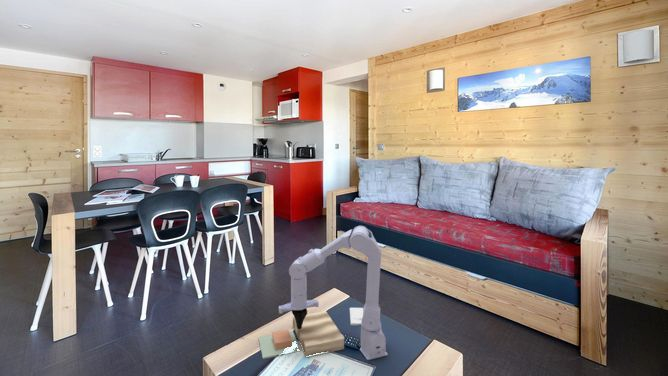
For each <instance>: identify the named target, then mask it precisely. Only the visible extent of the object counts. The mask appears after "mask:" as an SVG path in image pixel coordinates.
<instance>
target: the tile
mask: <svg viewBox="0 0 668 376" xmlns="http://www.w3.org/2000/svg"><path fill="white" fill-rule="evenodd" d="M289 331H290V330H289V329H283V330H277V331H274V332H273V331H272V333H271V335H272V339H273V343H274V346H275V350H279V349H283V348H287V347H291V346H292V338H291V335H290V333H289Z"/></svg>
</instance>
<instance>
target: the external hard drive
mask: <svg viewBox="0 0 668 376" xmlns="http://www.w3.org/2000/svg"><path fill="white" fill-rule="evenodd" d="M362 318H363V307H349V319H350V326H352V327H353V326H355V327H356V326H358V327H359V326H361V322H362Z"/></svg>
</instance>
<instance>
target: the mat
mask: <svg viewBox="0 0 668 376" xmlns="http://www.w3.org/2000/svg"><path fill="white" fill-rule="evenodd" d="M289 333H290V335H291V338H292V342H294V341H296V342H297V343H298V341H297V340H298V339H297V338H296V334H295V333H294V331H293V330H289ZM258 342H259V349H260V352H261V358H262V360H267V359H271V358H272V359H273V358H275V357H276V358H277V357H278V356H277V355H279V354H281V353H283V351H284V349H285V348H283V349H279V350H275V346H274V343H273V339H272V334H269V335H264V336H259V337H258ZM297 343H296V344H297ZM298 347H299V348H297V347H296V348H295V350H294V349H293V350H294V351H297V349H299V350H300V351H301V348H300V347H301V346H298Z"/></svg>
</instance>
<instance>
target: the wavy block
mask: <svg viewBox="0 0 668 376" xmlns="http://www.w3.org/2000/svg"><path fill="white" fill-rule="evenodd" d="M292 327H293V330H294V332H295V336H296V337H297V340H298V342H299V341H300V342H299V344H300V343H301V344H300V346H301V345H302V347H301V349H302V348H303V349H302V351H303V350H304V351H303V353H304V352H305V354H304V356H305V355H306V356H309V355H313V354H316V353H321V352H327V351H331V352H330V353H332V352H336V351H337V352H338V351H341V350H344V349H345V337H344V335H342V333H341V331H340V330H339V328H338V327H337V325H336V324H335V322H334V320H332V318H331V316H330V314H328V312H327V311H326V310H323V311H317V312H313V313H307V315H306V316H305V318H304V321H303V324H302V328H301V329H297V326H296V321H295V317H294V316H292ZM306 356H305V357H306Z"/></svg>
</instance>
